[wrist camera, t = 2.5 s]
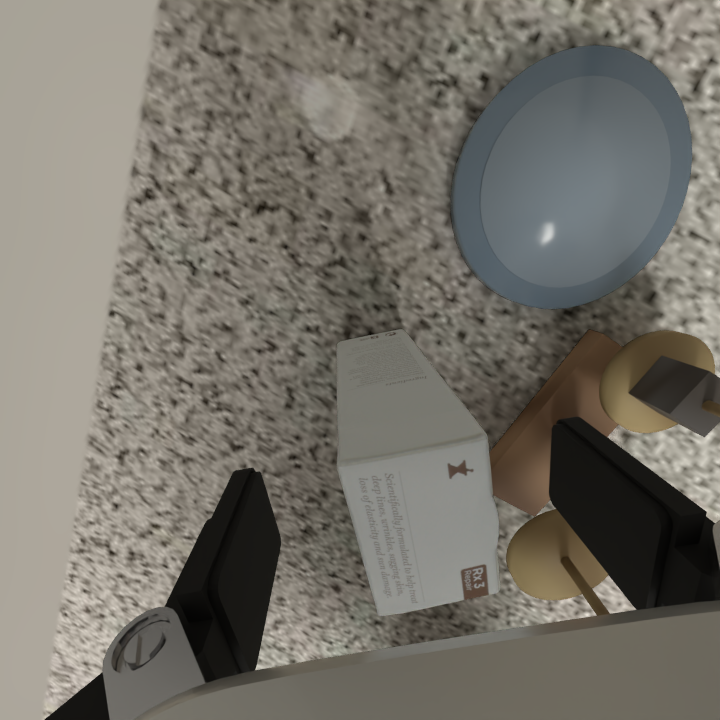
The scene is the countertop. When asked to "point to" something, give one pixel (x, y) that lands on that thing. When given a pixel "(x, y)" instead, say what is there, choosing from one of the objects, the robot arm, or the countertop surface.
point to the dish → (571, 177)
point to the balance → (604, 412)
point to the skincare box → (413, 477)
